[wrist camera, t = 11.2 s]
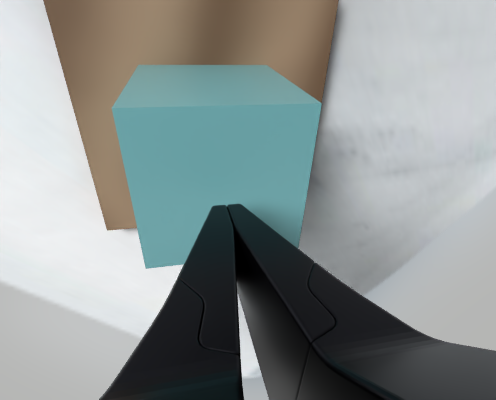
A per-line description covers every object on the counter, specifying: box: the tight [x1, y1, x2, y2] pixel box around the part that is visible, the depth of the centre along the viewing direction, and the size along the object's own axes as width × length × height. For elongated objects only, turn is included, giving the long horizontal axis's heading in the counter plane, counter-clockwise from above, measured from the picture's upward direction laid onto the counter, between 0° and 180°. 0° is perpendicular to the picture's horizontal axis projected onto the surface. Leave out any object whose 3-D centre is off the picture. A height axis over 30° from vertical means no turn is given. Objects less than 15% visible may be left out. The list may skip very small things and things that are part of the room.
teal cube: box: [112, 65, 322, 269], centre depth 13 cm, size 6×6×7 cm
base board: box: [43, 0, 339, 230], centre depth 16 cm, size 12×12×1 cm
